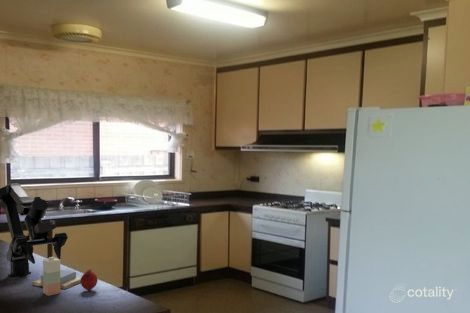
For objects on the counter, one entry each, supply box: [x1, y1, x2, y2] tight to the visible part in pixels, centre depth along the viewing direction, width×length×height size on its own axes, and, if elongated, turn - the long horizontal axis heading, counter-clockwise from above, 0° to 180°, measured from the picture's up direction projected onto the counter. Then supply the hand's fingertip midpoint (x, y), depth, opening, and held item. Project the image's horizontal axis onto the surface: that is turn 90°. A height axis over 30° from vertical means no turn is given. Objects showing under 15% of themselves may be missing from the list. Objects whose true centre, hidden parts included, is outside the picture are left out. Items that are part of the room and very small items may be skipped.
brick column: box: [42, 256, 61, 297], centre depth 167 cm, size 4×4×13 cm
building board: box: [31, 276, 82, 290], centre depth 180 cm, size 15×11×1 cm
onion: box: [80, 268, 98, 292], centre depth 170 cm, size 6×6×8 cm
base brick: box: [40, 269, 77, 284], centre depth 180 cm, size 9×9×2 cm
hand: (47, 261), depth 170 cm, fingers open, 9 cm apart
